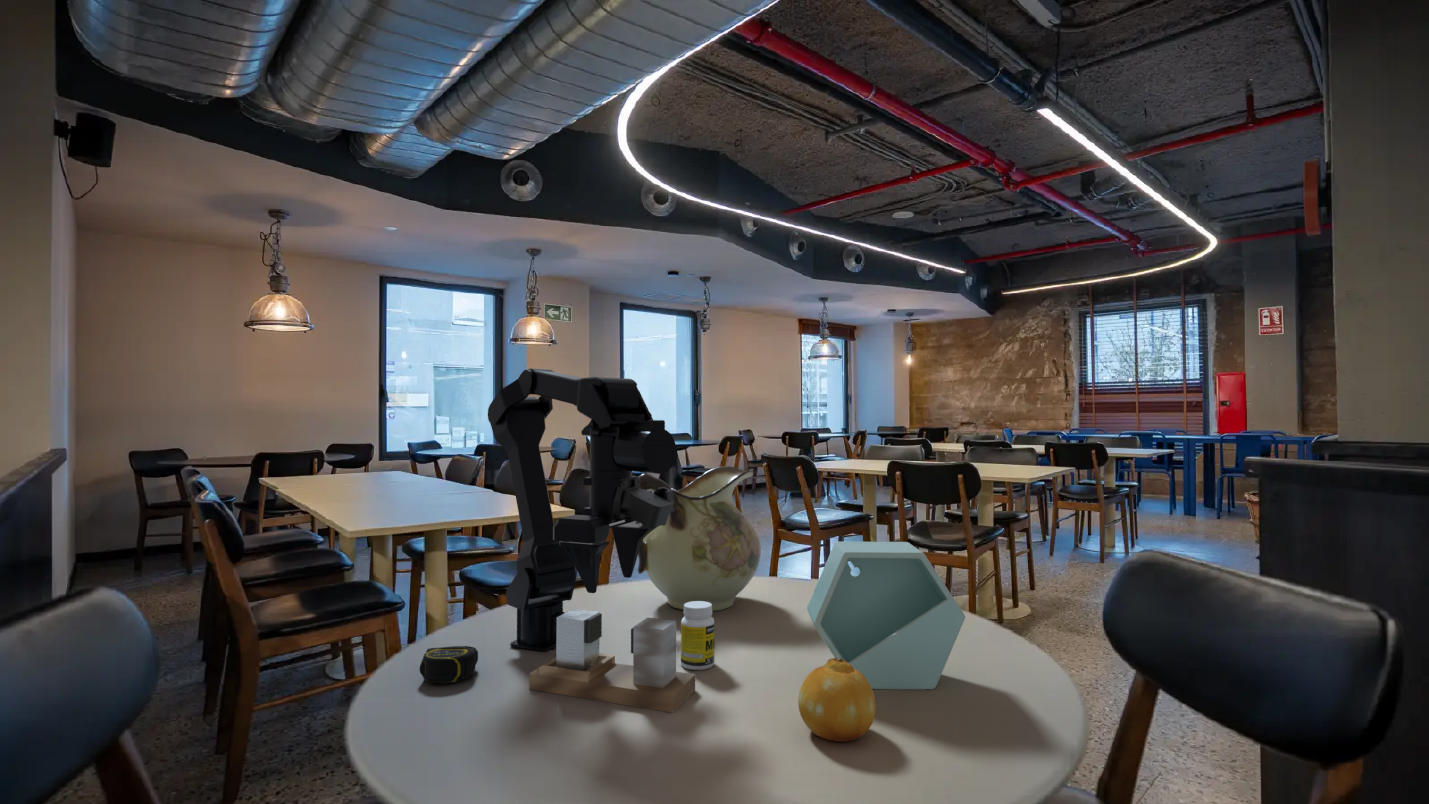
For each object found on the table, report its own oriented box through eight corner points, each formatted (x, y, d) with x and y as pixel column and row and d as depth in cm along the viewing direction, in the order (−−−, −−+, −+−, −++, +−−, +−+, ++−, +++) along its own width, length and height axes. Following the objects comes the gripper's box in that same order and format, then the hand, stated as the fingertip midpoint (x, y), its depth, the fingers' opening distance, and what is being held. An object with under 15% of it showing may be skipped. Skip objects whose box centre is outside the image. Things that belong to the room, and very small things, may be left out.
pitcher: (777, 595, 133) (777, 467, 133) (730, 629, 111) (730, 476, 112) (675, 583, 142) (675, 463, 143) (613, 613, 121) (614, 471, 121)
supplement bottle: (710, 672, 93) (710, 610, 93) (677, 669, 94) (677, 608, 94) (717, 660, 98) (717, 600, 98) (685, 657, 99) (685, 599, 99)
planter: (878, 725, 87) (789, 588, 88) (866, 700, 95) (784, 574, 95) (990, 653, 87) (900, 516, 87) (968, 633, 95) (886, 508, 95)
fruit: (848, 688, 82) (825, 638, 79) (900, 719, 75) (877, 665, 72) (800, 737, 78) (775, 686, 75) (850, 774, 71) (824, 720, 69)
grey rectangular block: (587, 677, 86) (588, 621, 86) (556, 672, 87) (556, 617, 88) (603, 666, 90) (603, 612, 90) (572, 661, 91) (573, 609, 91)
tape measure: (479, 668, 95) (479, 641, 95) (470, 687, 88) (471, 658, 88) (427, 671, 93) (427, 644, 94) (414, 691, 87) (414, 661, 87)
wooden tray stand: (529, 689, 87) (529, 618, 87) (559, 670, 94) (560, 604, 94) (673, 712, 80) (673, 635, 80) (695, 690, 87) (695, 619, 87)
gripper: (628, 477, 81) (628, 609, 81) (693, 466, 98) (692, 575, 98) (550, 474, 85) (549, 599, 85) (625, 464, 103) (625, 568, 102)
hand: (610, 584), depth 93 cm, fingers open, 9 cm apart
